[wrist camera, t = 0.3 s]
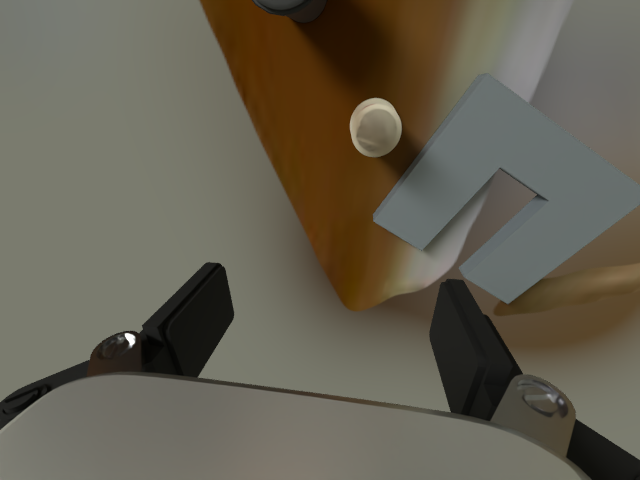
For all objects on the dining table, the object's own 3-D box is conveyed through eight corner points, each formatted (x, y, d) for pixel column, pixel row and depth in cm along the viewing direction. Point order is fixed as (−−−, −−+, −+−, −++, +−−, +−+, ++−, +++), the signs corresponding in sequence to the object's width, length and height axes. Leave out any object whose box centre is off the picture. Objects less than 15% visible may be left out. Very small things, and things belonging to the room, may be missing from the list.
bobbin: (367, 88, 32) (368, 82, 23) (407, 115, 32) (422, 119, 24) (341, 132, 34) (333, 142, 26) (378, 156, 35) (382, 174, 26)
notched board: (478, 75, 30) (487, 72, 27) (633, 188, 32) (653, 194, 30) (373, 214, 39) (373, 221, 37) (500, 293, 42) (507, 304, 39)
